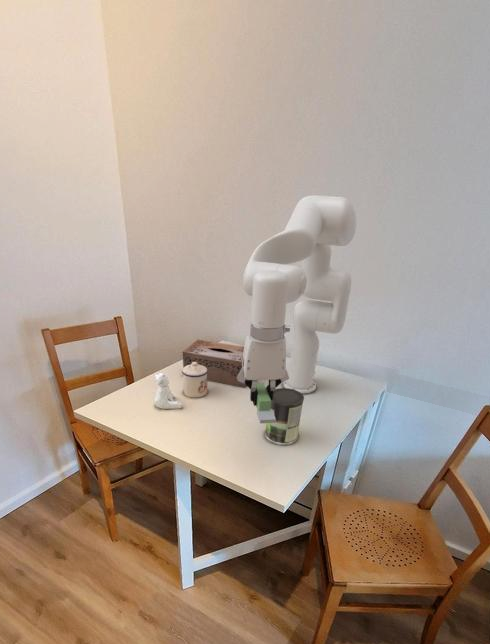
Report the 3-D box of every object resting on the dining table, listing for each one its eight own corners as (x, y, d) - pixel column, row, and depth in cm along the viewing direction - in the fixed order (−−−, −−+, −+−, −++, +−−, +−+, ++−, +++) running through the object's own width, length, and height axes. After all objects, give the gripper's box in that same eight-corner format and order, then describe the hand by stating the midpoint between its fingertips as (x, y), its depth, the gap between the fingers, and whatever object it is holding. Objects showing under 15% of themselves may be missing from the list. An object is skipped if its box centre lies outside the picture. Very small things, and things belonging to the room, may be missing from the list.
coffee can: (267, 445, 117) (272, 404, 108) (262, 427, 125) (266, 388, 116) (301, 444, 117) (307, 404, 109) (294, 426, 126) (299, 387, 117)
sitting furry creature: (183, 408, 133) (181, 376, 126) (159, 414, 130) (156, 381, 122) (173, 396, 139) (170, 365, 132) (150, 402, 136) (146, 370, 129)
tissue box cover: (183, 375, 153) (182, 351, 147) (198, 362, 164) (197, 339, 158) (244, 387, 147) (246, 362, 141) (255, 372, 158) (257, 348, 152)
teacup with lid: (202, 400, 138) (201, 369, 131) (179, 395, 140) (177, 365, 133) (213, 385, 147) (213, 356, 140) (191, 382, 149) (190, 353, 142)
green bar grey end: (275, 422, 92) (277, 409, 90) (260, 423, 91) (261, 410, 89) (264, 395, 103) (265, 382, 101) (250, 395, 103) (251, 383, 100)
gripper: (297, 325, 91) (288, 394, 103) (229, 326, 89) (227, 397, 101) (305, 336, 85) (295, 409, 97) (233, 337, 84) (231, 411, 95)
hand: (261, 402), depth 99 cm, fingers closed on green bar grey end, 2 cm apart
